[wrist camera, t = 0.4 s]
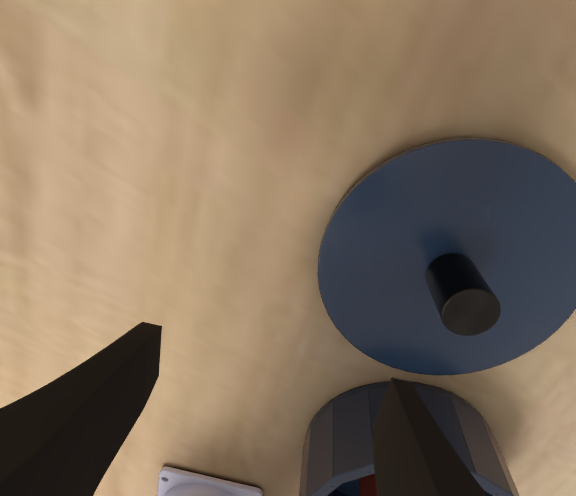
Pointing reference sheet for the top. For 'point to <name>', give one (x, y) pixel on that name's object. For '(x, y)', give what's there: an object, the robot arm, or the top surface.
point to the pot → (359, 441)
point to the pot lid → (452, 256)
